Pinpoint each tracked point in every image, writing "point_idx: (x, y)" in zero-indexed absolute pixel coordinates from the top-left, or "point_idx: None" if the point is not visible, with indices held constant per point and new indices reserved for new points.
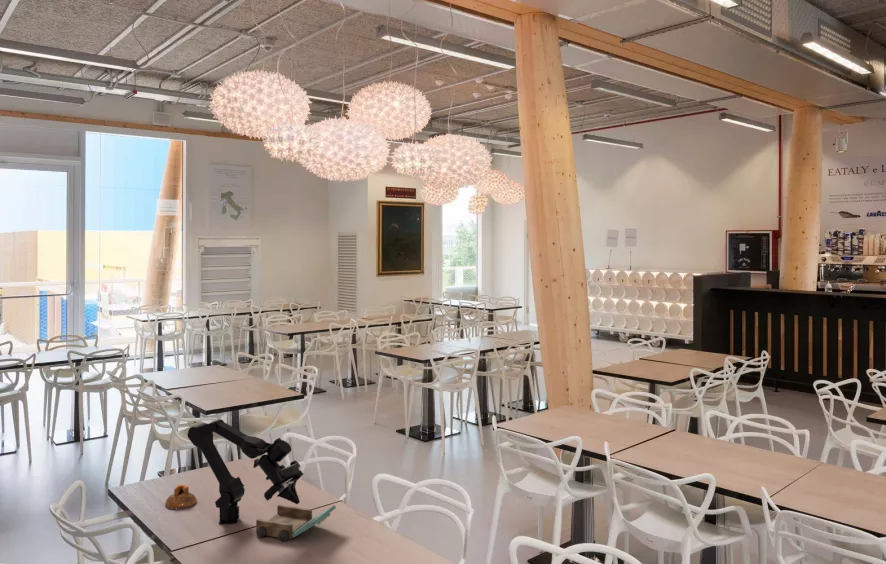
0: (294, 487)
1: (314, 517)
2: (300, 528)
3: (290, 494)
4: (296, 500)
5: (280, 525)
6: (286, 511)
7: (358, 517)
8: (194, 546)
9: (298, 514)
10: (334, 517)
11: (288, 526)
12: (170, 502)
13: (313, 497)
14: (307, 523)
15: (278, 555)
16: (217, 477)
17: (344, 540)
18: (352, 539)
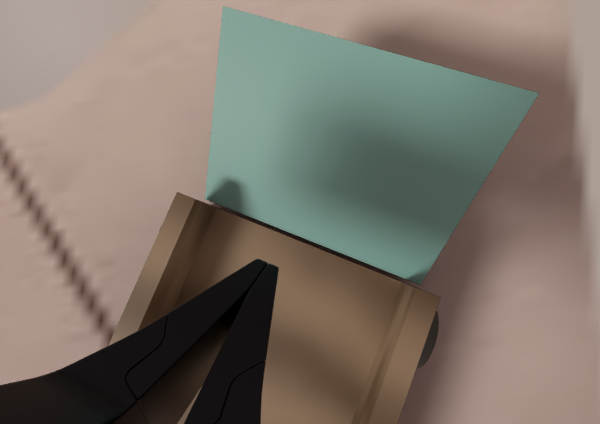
0: (73, 387)
1: (237, 177)
2: (387, 237)
3: (257, 412)
4: (274, 294)
5: (409, 376)
6: None
7: (164, 15)
8: None
9: (178, 280)
10: (153, 115)
11: (432, 314)
12: None
13: None
14: (346, 199)
15: (586, 326)
16: None
17: (399, 36)
18: (389, 5)
